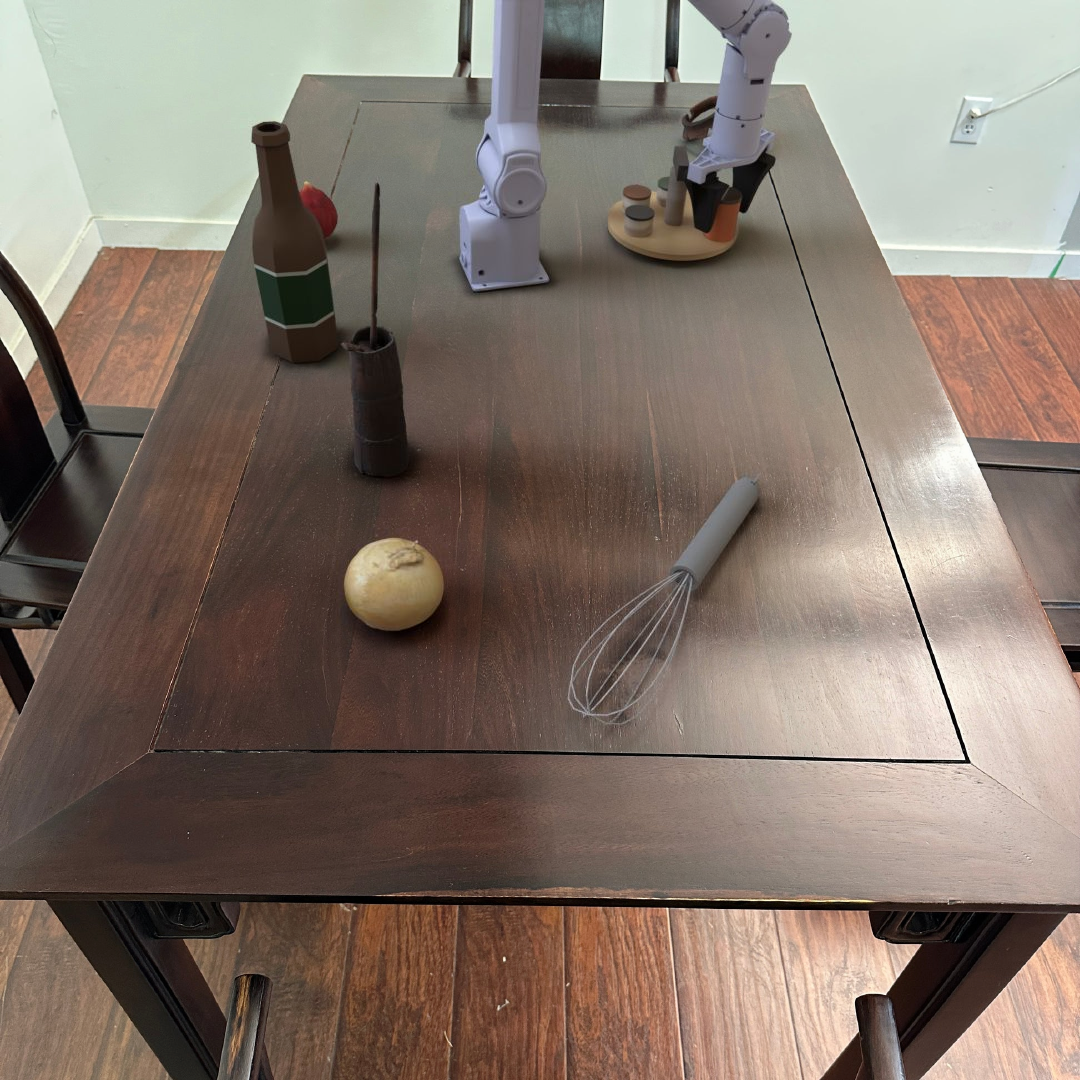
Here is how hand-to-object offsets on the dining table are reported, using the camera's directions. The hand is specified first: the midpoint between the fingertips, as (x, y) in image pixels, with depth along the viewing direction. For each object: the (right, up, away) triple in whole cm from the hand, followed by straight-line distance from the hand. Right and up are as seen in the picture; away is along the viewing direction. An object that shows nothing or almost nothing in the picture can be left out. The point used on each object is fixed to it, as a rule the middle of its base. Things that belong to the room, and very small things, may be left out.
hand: (720, 219), depth 122 cm
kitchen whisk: (-11, -46, -39) cm, 61 cm away
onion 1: (-51, -3, +1) cm, 51 cm away
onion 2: (-35, -46, -41) cm, 71 cm away
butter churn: (-39, -33, -29) cm, 59 cm away
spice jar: (0, -1, +1) cm, 2 cm away
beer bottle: (-49, -19, -15) cm, 54 cm away
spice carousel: (-6, 0, +4) cm, 7 cm away
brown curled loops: (+4, +19, +24) cm, 31 cm away
